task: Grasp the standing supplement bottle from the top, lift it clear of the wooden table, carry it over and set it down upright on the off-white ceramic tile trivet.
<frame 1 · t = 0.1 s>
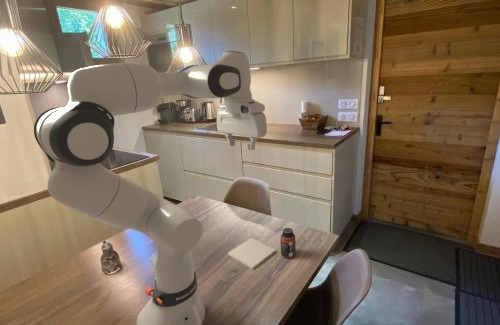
hand: (241, 147, 93), 48 cm above the table, tool pointing down, fingers open, 8 cm apart
figurine: (112, 269, 112), on the table
supplement bottle: (288, 254, 114), on the table
tile trivet: (251, 253, 116), on the table
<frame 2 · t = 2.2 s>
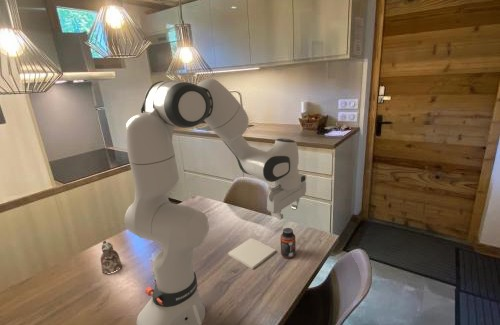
hand: (287, 213, 108), 19 cm above the table, tool pointing down, fingers open, 8 cm apart
nothing on the table moved.
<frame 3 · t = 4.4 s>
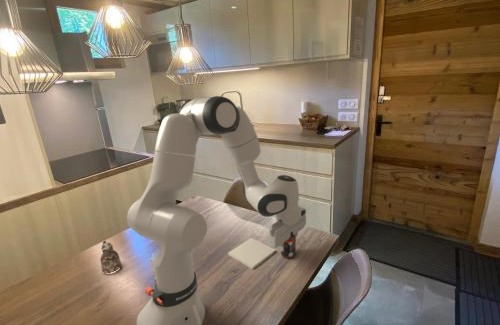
hand: (288, 245, 112), 4 cm above the table, tool pointing down, fingers closed on supplement bottle, 6 cm apart
supplement bottle: (288, 254, 114), on the table, touching gripper
everything else where it was.
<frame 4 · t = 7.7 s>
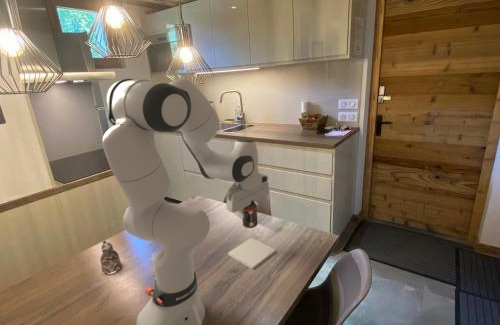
hand: (249, 213, 110), 19 cm above the table, tool pointing down, fingers closed on supplement bottle, 6 cm apart
supplement bottle: (250, 225, 111), point 13 cm above the table, touching gripper
everything else where it was.
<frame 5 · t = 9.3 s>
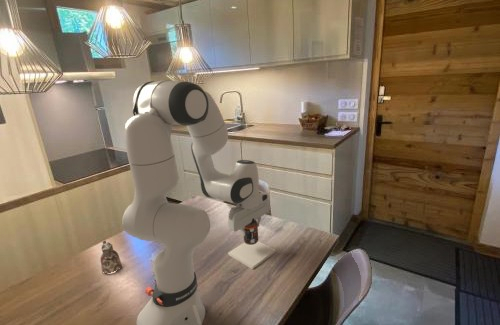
hand: (250, 230, 112), 11 cm above the table, tool pointing down, fingers closed on supplement bottle, 6 cm apart
supplement bottle: (251, 241, 114), point 6 cm above the table, touching gripper
everything else where it was.
when the fingers open (7 cm above the table, at t = 11.0 s): supplement bottle stays where it is, resting on tile trivet.
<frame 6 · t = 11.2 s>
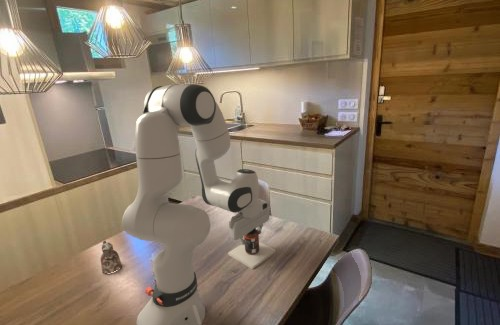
hand: (250, 238, 113), 7 cm above the table, tool pointing down, fingers open, 8 cm apart
supplement bottle: (252, 251, 116), point 1 cm above the table, touching tile trivet
everything else where it was.
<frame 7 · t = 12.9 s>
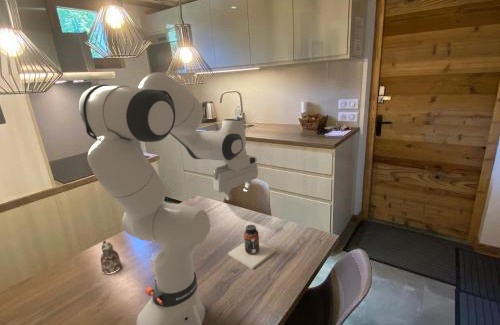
hand: (237, 195, 109), 26 cm above the table, tool pointing down, fingers open, 8 cm apart
nothing on the table moved.
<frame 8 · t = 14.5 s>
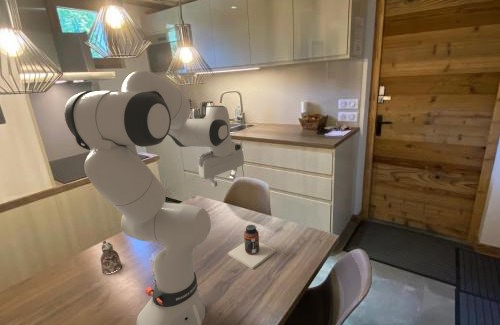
hand: (223, 182, 109), 31 cm above the table, tool pointing down, fingers open, 8 cm apart
nothing on the table moved.
at the end: supplement bottle inside the target area on the tile trivet (0.4 cm from its centre), point 0.8 cm above the tile trivet's base; supplement bottle tilted 0°; the gripper is holding nothing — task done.
